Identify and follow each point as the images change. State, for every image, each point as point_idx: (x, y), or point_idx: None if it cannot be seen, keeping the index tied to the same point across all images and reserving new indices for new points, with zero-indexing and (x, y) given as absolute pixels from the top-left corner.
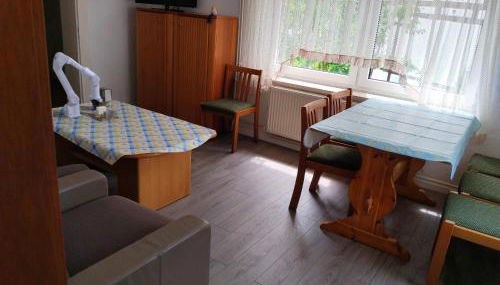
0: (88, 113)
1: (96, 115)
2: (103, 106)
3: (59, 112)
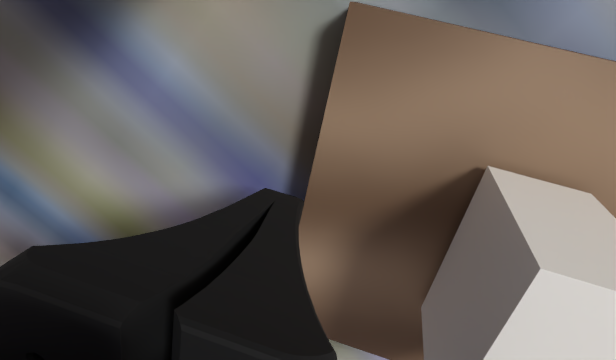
0: None
1: None
2: (564, 316)
3: None
